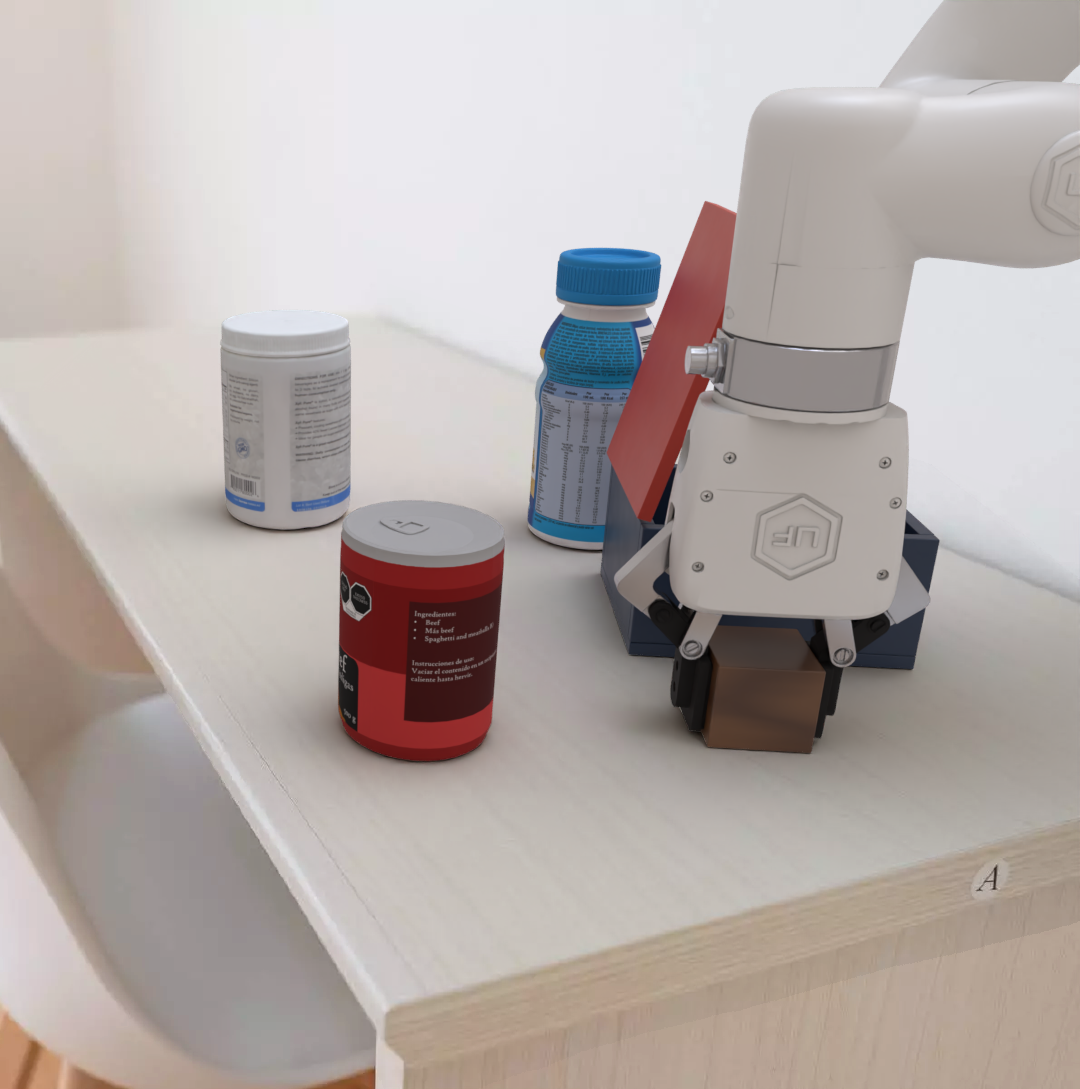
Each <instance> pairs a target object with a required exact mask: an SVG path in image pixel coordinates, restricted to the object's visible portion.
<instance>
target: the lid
mask: <svg viewBox="0 0 1080 1089" xmlns="http://www.w3.org/2000/svg"><path fill="white" fill-rule="evenodd" d="M736 215H737V212H735V211H733V210H731V209H729V208H727V207H724V206H722V205H721V204H718V203H715V202H711V201H708V200H705V201H704V202H703V205H702V207H701V210H700V212H699V215H698V217H697V220H696V222H695V225H694V227H693V230H692V232H691V236H690V238H689V240H688V243H687V245H686V248H685V251H684V253H683V254H682V255H683V256H682V258H681V260H680V263H679V266H678V268H677V270H676V274H675V276H674V279H673V281H672V284H671V286H670V289H669V291H668V294H667V297H666V298H665V302H664V304H663V306H662V309H661V312H660V315H659V317H658V319H657V322H656V325H655V326H654V327H655V330H654V332H653V335H652V337H651V340H650V343H649V345H648V348H647V350H646V353H645V355H644V358H643V360H642V363H641V366H640V368H639V371H638V373H637V376H636V378H635V381H634V383H633V386H632V389H631V391H630V394H629V396H628V399H627V401H626V404H625V407H624V409H623V412H622V414H621V417H620V419H619V422H618V424H617V427H616V430H615V432H614V435H613V437H612V440H611V442H610V445H609V448H608V450H607V455H608V457H609V459H610V461H611V464H612V466H613V468H614V470H615V472H616V474H617V476H618V478H619V481H620V483H621V485H622V487H623V489H624V491H625V493H626V495H627V498H628V500H629V502H630V504H631V506H632V508H633V510H634V512H635V515H636V517H637V518H638V519H641V520H645V521H648V522H651V520H652V518H653V516H654V513H655V511H656V508H657V506H658V504H659V501H660V499H661V496H662V494H663V492H664V489H665V487H666V484H667V482H668V479H669V477H670V475H671V472H672V470H673V467H674V465H675V464H677V461H678V459H679V456H680V452H681V449H682V445H683V442H684V438H685V435H686V431H687V428H688V425H689V422H690V419H691V416H692V413H693V410H694V408H695V405H696V402H697V400H698V397H699V395H700V394H701V393H702V392H704V391H707V388H708V385H709V384H710V382H711V380H710V379H709V378H703V377H702V376H701V375H700V374H686V372H685V355H686V350H687V347H688V346H704V344H705V343H712V341H713V338H716V335H717V328H722V323H723V316H724V308H725V300H726V293H727V285H728V277H729V270H730V262H731V254H732V247H733V239H734V231H735V223H736Z"/></svg>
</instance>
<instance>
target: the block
mask: <svg viewBox="0 0 1080 1089" xmlns="http://www.w3.org/2000/svg"><path fill="white" fill-rule="evenodd" d="M708 645H709V649H708V655H709V657H710V659H711V661H712V665H713V669H712V676H711V683H710V690H709V697H708V704H707V711H706V718H705V725H704V729H701V731H700V733H701V735H702V737H703V739H704V742H705V745H706V747H708V748H713V749H730V750H731V749H732V750H733V749H734V750H747V751H749V750H750V751H766V752H780V753H781V752H785V753H802V754H811V753H812V751H813V746H814V741H815V738H814V736H815V731H816V725H817V719H818V714H819V708H820V703H821V697H822V692H823V686H824V680H825V675H826V672H825V670H824V669H823V667H822V666H821V664H820V663H819V661H818V660H817V658H816V657H815V655H814V654H813V652H812V651H811V649H810V648H809V646H808V645H807V643H806V642H805V640H804V639H803V637H802V636H801V634H800V633H799V631H798V630H797V629H785V628H764V627H743V626H721V625H717V627H716V629H715V631H714V633H713V636H712V638H711V640H710V642H709V644H708Z"/></svg>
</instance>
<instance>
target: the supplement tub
mask: <svg viewBox="0 0 1080 1089" xmlns="http://www.w3.org/2000/svg"><path fill="white" fill-rule="evenodd" d="M349 333H350V324H349V320H348V319H347V318H346V317H345V316H342V315H340V314H337V313H333V312H327V311H321V310H312V309H311V310H310V309H309V310H307V309H272V310H270V309H269V310H263V311H262V310H259V311H251V312H245V313H240V314H235V315H233V316H230V317H228V318H225V319H224V320H223V321H222V322H221V339H220V342H219V345H220V383H221V410H222V415H221V416H222V438H223V439H222V440H223V441H222V442H223V465H224V466H223V467H224V468H223V469H224V470H223V471H224V494H225V506H226V509H227V511H228V512H229V514H230V515H231V516H232V517H233V518H235V519H236V520H238V521H240V522H242V523H244V524H248V525H250V526H253V527H257V528H263V529H270V530H285V531H286V530H299V529H304V528H305V529H306V528H316V527H320V526H324V525H327V524H330V523H332V522H335V521H337V520H338V519H340V518H341V517H342V516H343V515H345V513H346V512H347V511H348V509H349V507H350V504H351V484H352V483H351V481H352V480H351V478H352V477H351V475H352V474H351V469H352V467H351V466H352V464H351V462H352V461H351V460H352V456H351V455H352V454H351V453H352V452H351V450H352V449H351V448H352V447H351V446H352V445H351V444H352V440H351V439H352V436H351V435H352V346H351V338H350V334H349Z"/></svg>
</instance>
